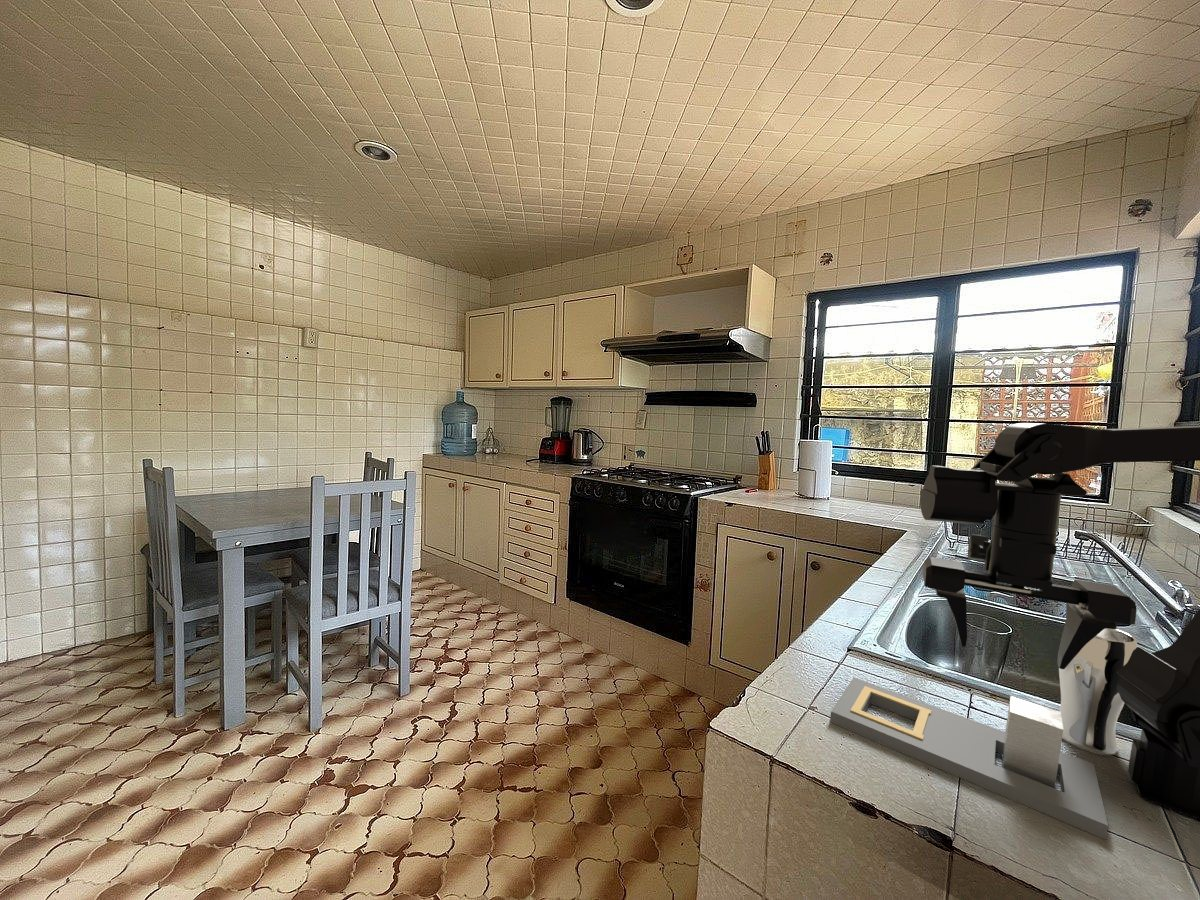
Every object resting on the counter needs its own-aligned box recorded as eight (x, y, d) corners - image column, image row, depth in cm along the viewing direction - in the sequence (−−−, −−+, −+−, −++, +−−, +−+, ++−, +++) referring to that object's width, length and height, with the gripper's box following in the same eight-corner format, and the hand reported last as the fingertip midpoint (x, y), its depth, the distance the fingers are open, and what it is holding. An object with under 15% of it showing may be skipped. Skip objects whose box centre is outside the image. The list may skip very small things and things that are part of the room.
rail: (1091, 775, 59) (1093, 762, 59) (1105, 839, 50) (1108, 823, 50) (852, 686, 75) (853, 675, 75) (829, 722, 66) (831, 709, 66)
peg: (1050, 776, 58) (1060, 711, 58) (1053, 798, 55) (1063, 729, 54) (1001, 757, 61) (1010, 695, 61) (1001, 777, 58) (1010, 711, 57)
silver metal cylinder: (1036, 728, 68) (1052, 621, 66) (1067, 719, 70) (1082, 617, 69) (1102, 763, 61) (1121, 646, 60) (1133, 752, 64) (1152, 640, 62)
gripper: (1107, 528, 61) (1092, 651, 62) (926, 508, 70) (916, 615, 72) (1147, 548, 51) (1128, 693, 53) (931, 521, 61) (919, 644, 62)
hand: (1010, 656), depth 60 cm, fingers open, 9 cm apart
